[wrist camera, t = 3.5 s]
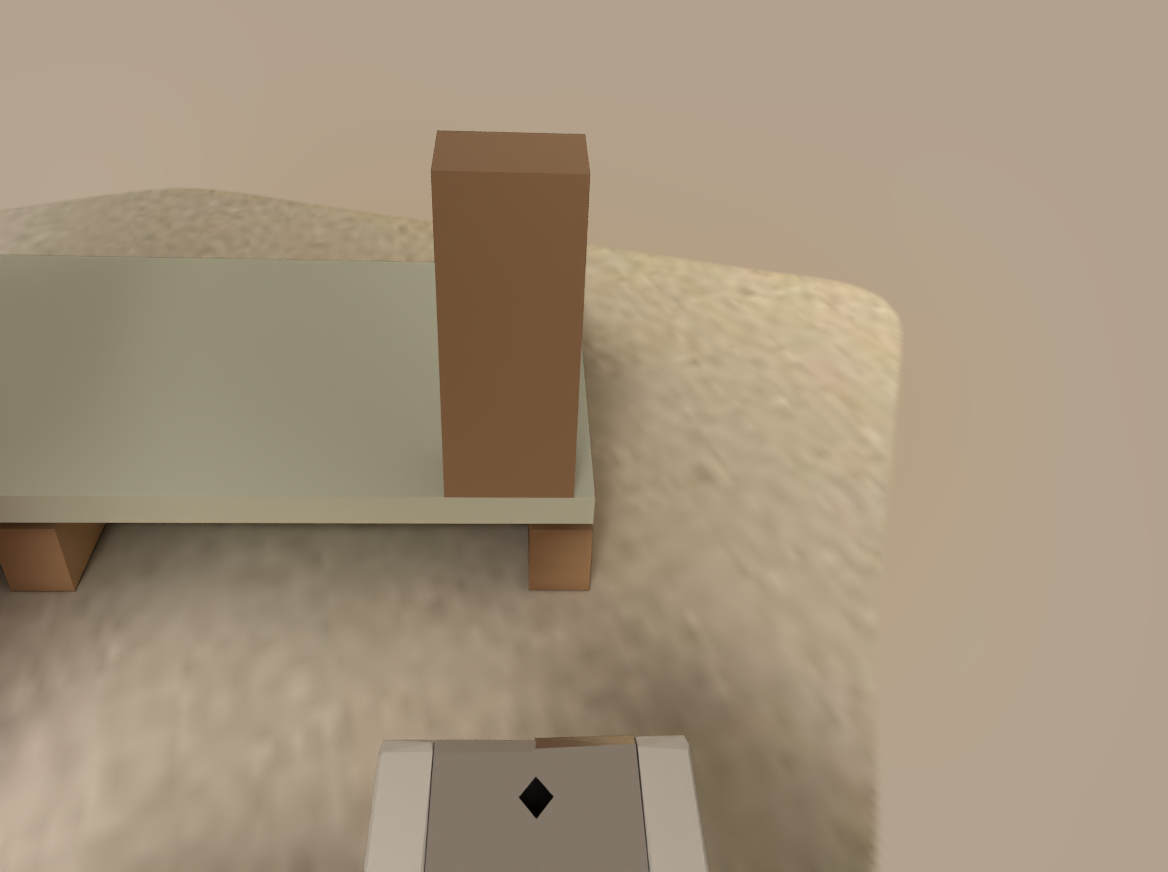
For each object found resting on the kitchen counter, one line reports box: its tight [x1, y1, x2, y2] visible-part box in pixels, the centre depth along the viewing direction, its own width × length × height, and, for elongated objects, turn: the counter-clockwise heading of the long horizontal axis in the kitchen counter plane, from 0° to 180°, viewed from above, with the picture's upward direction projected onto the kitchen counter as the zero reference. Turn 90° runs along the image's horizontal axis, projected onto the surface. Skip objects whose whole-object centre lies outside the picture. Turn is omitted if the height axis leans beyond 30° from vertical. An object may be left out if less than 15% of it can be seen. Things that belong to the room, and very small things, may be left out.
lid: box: [0, 131, 595, 524], centre depth 27 cm, size 24×12×9 cm, turn 93°
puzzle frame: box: [0, 522, 593, 591], centre depth 31 cm, size 24×13×2 cm, turn 93°
